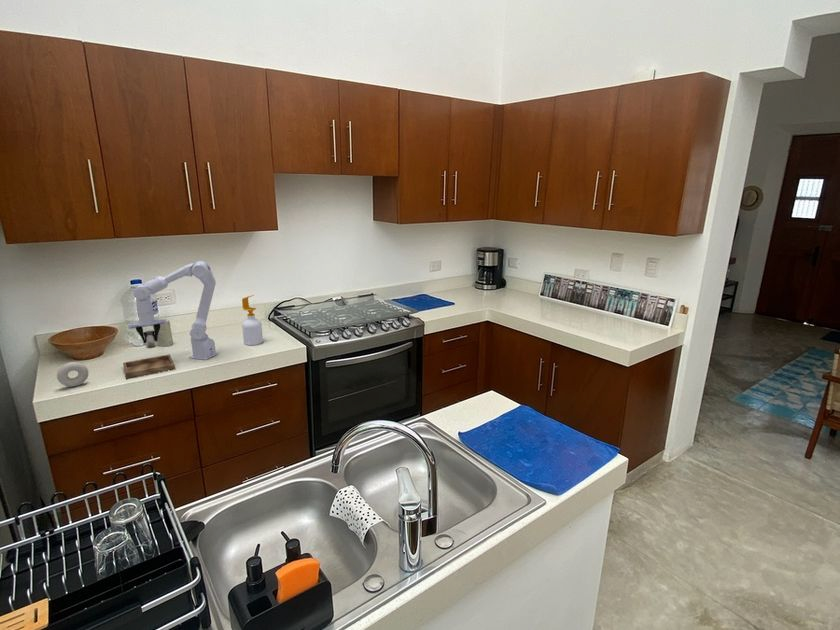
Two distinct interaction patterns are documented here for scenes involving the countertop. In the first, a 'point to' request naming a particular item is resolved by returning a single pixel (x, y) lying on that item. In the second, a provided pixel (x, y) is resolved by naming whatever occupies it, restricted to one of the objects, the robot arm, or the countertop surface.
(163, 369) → the walnut tray
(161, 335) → the skincare box
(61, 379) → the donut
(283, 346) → the countertop surface
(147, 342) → the steel shaker
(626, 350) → the countertop surface
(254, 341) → the soap bottle
